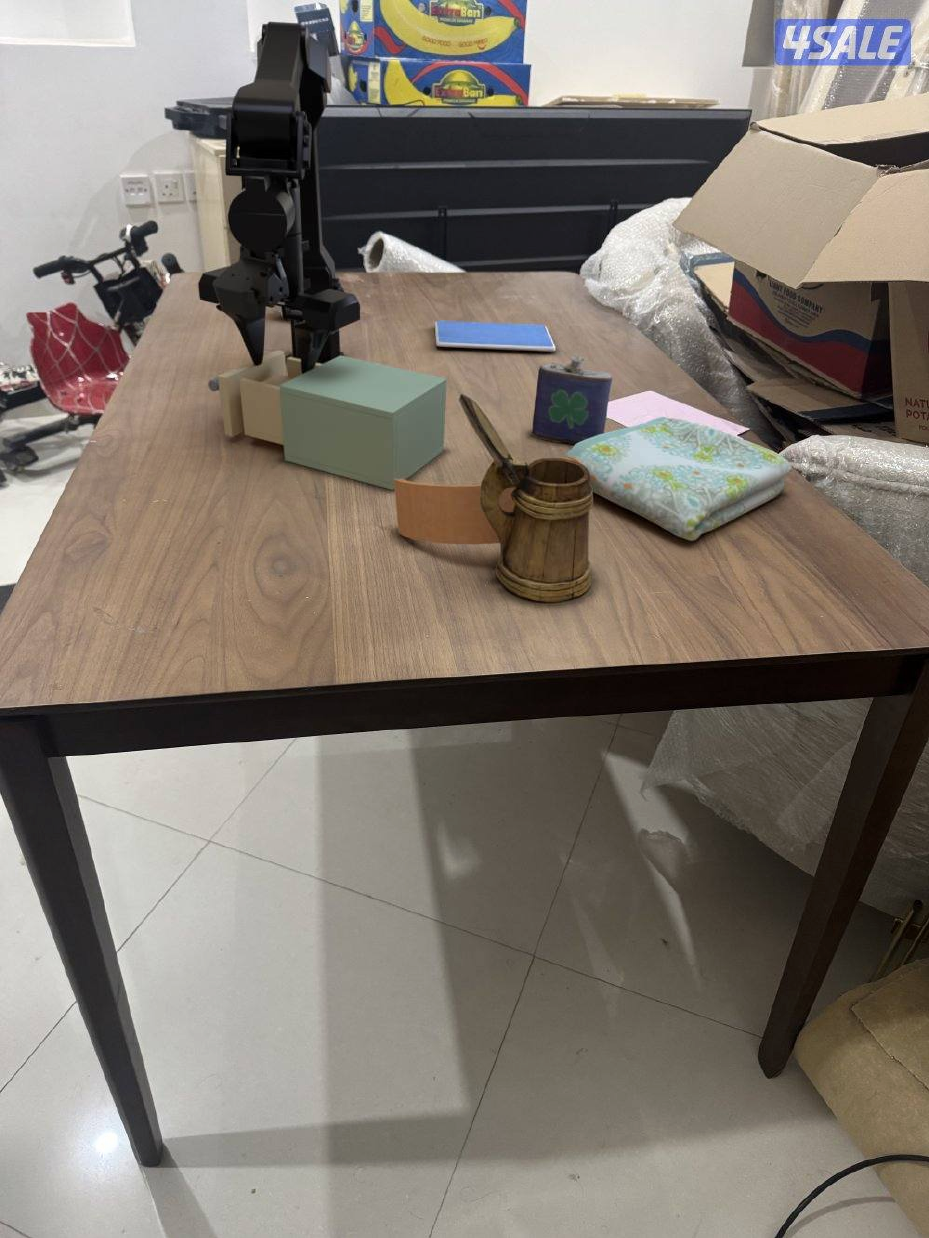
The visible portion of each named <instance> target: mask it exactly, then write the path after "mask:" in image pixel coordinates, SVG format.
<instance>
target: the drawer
mask: <svg viewBox="0 0 929 1238" xmlns="http://www.w3.org/2000/svg"><path fill="white" fill-rule="evenodd" d="M320 365H322V364H320V363H316V364H315V367H314V368H316V367H318V366H320ZM277 374H279V375H283V376H288V377H292V378H296V377H298V376H300V375H302V371H301V359H298V358H293V357H289V358H287V359H286V354H285V351H284V350H283V351H282V350H278V349H277V350H274V351H272V352H269V353H267V354H265V355H263V361H262V364H261V365H259V366H255V365H254V364H253V361H252V360H251V361H248V362H245V363H244V364H241V365H239V366H237V367H235V368H233V369H230V370H228V371H226V372H223V373H221V374H219V375H217V377H214V378H212V379H210V380H209V381H208V383H207V386H208V388H209V389H210V391H212V392H217V391H219V396H220V403H221V412H222V422H223V429H224V430H223V431H224V435H225V436H229V437H234V436H237V435H238V434H240V433H242V432H244V435H245V436H249V437H252V438H256V439H258V440H259V439H260V440H263V441H267V442H269V443H275V444H278V445H282V446H284V442H283V429H282V416H281V403H280V389H279V386H274V385H270V384H266V383H262V381H264V380H266V379H268V378H270V377H272V376H275V375H277Z"/></svg>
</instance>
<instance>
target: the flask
mask: <svg viewBox="0 0 929 1238" xmlns="http://www.w3.org/2000/svg"><path fill="white" fill-rule="evenodd" d="M570 360H571V363H568V364H566V365H565V364H563V363H559V365H558V362H557V361H554V362H552V363H544V364H541V365H540V367H539V369H538V371H537V382H536V391H535V392H536V393H535V400H534V409H533V416H532V429H531V431H532V437H535V438H536V439H541V440H546V441H550V442H551V441H552V442H554V443H562V444H564V443H566V444H569V445H575V444H577V443H579V442H581V441H583V440H586V439H588V438H591V437H594V436H597V435H600V434H603V433H605V428H606V427H605V426H606V421H607V417H608V406H609V401H610V395H611V388H612V384H613V383H612V382H613V376H612V374H610V373H609V372H605V371H593V370H585V369H584V370H583V367H582V366H581V365H582V363H583V361H584V360H585V358H584V357H583V356H580V355H577V356H572V357H571V359H570Z"/></svg>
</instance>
